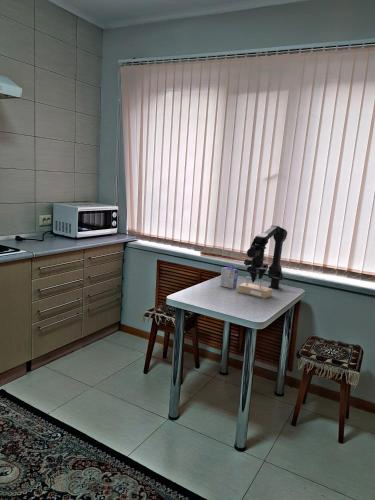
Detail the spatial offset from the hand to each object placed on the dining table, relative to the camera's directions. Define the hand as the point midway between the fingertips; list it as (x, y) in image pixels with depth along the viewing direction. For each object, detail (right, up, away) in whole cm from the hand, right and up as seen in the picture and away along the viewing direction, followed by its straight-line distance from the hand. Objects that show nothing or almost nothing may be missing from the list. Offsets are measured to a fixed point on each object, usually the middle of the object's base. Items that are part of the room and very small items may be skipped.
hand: (256, 281), depth 238 cm
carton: (-1, -8, +1) cm, 8 cm away
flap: (-1, -4, 0) cm, 4 cm away
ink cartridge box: (-16, -5, +14) cm, 22 cm away
